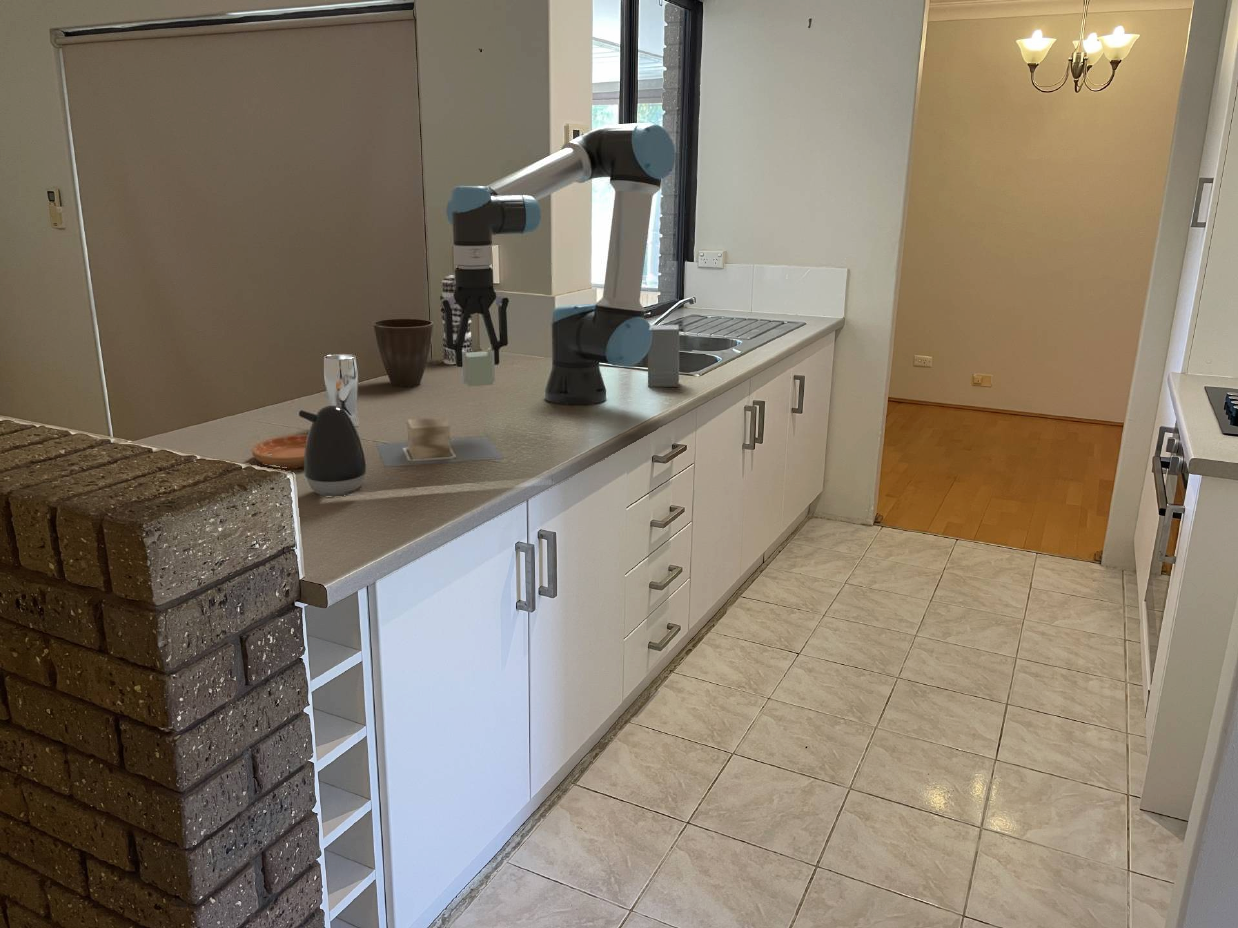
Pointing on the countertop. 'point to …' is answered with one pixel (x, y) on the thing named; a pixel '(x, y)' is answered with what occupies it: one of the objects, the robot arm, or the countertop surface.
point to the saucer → (282, 451)
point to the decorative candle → (456, 315)
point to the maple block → (428, 438)
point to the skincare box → (664, 356)
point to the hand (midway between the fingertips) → (478, 381)
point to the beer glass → (342, 382)
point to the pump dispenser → (333, 453)
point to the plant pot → (404, 348)
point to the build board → (458, 453)
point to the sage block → (479, 369)
